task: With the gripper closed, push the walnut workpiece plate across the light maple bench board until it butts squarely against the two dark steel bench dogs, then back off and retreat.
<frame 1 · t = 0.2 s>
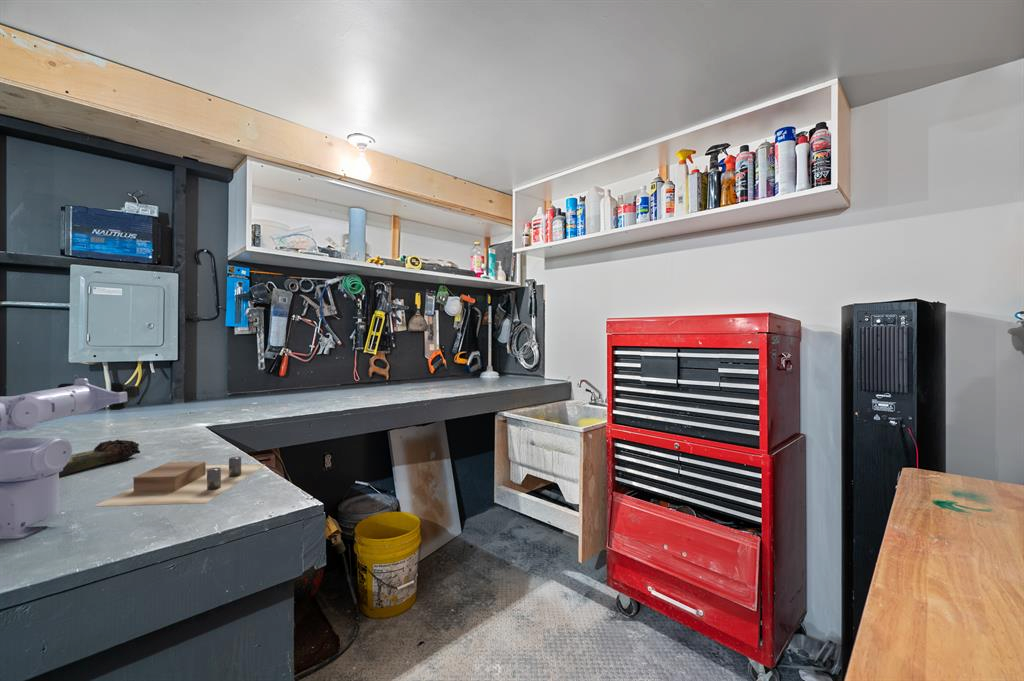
hand: (119, 391, 95), 21 cm above the workbench, tool horizontal, fingers open, 7 cm apart
walnut plate: (171, 482, 93), point 1 cm above the workbench, touching bench board
mossy wood log: (95, 467, 109), on the workbench
bench board: (191, 489, 93), on the workbench
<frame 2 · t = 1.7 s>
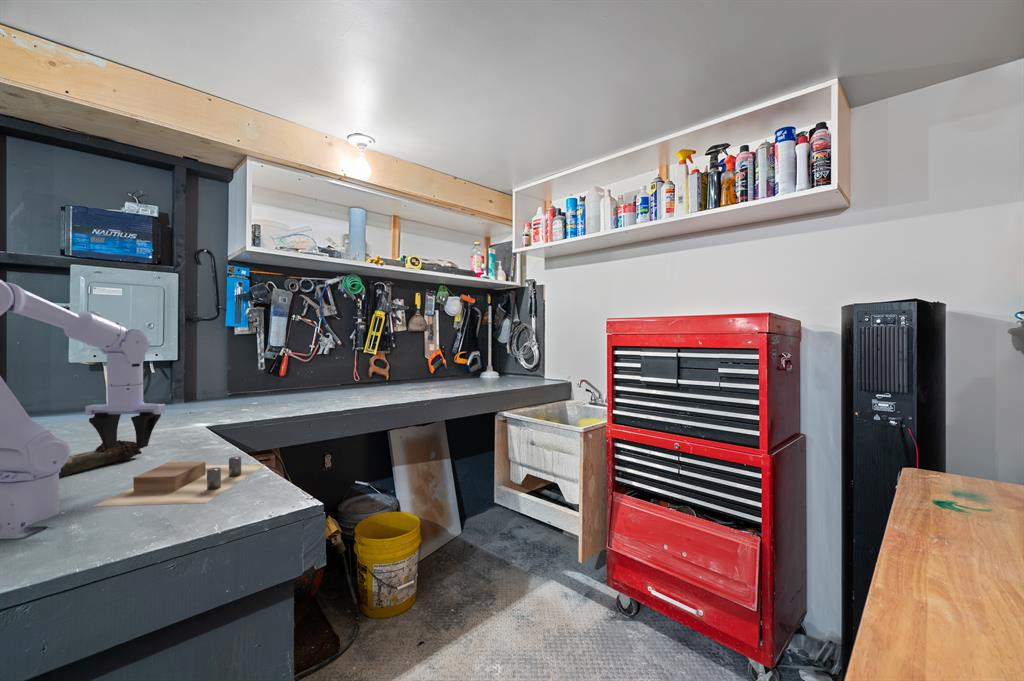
hand: (126, 447, 92), 9 cm above the workbench, tool pointing down, fingers open, 6 cm apart
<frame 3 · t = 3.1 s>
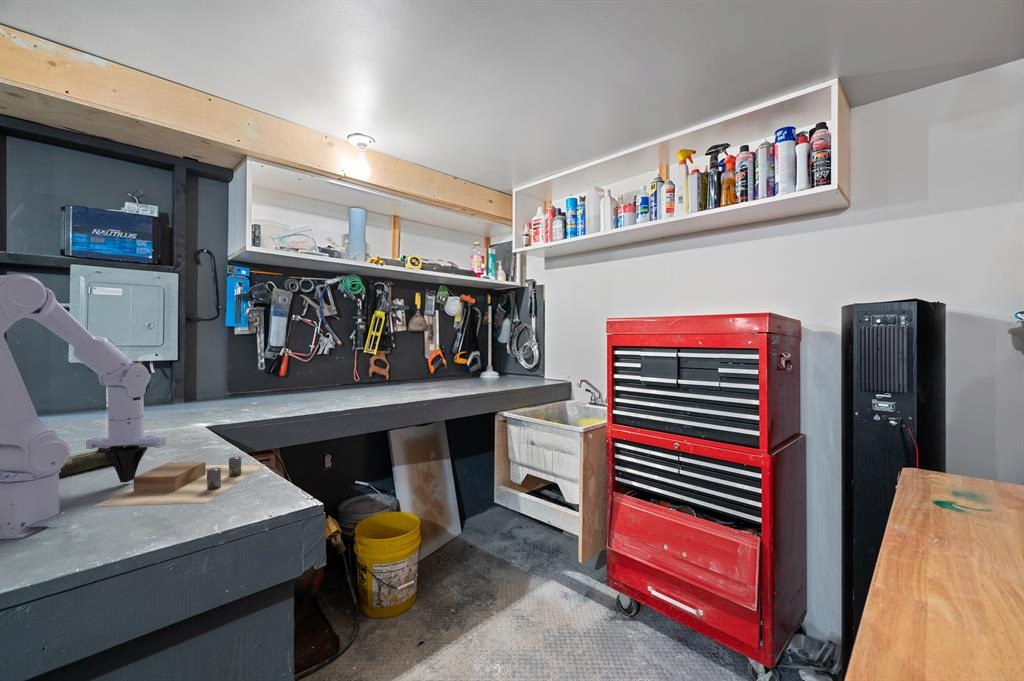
hand: (127, 480, 92), 2 cm above the workbench, tool pointing down, fingers closed
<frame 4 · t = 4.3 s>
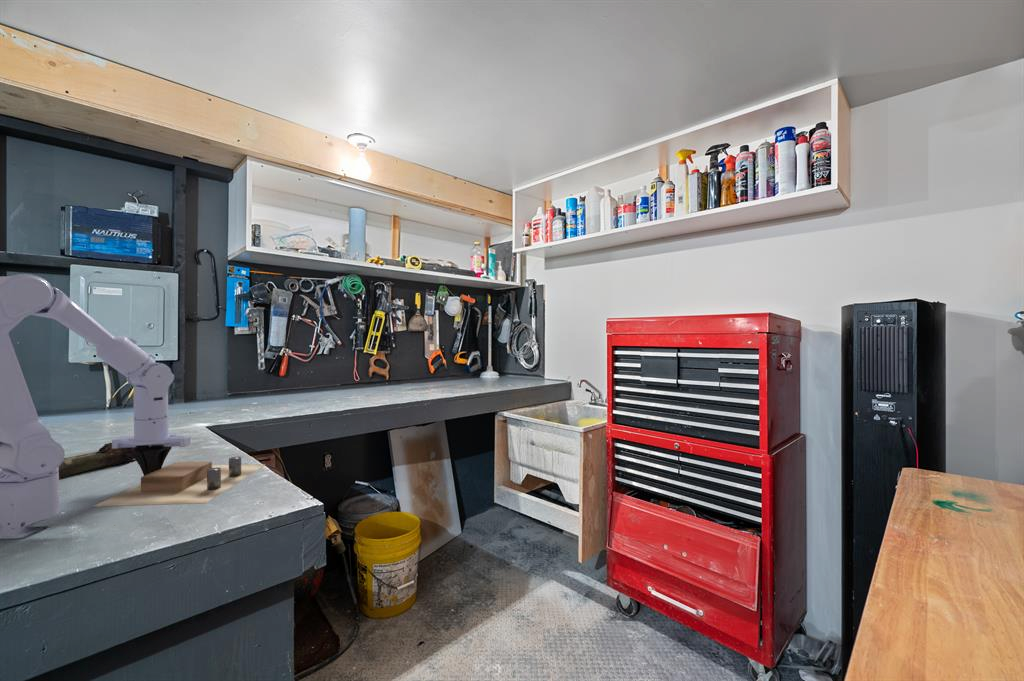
hand: (152, 480, 93), 2 cm above the workbench, tool pointing down, fingers closed
walnut plate: (178, 482, 93), point 1 cm above the workbench, touching bench board
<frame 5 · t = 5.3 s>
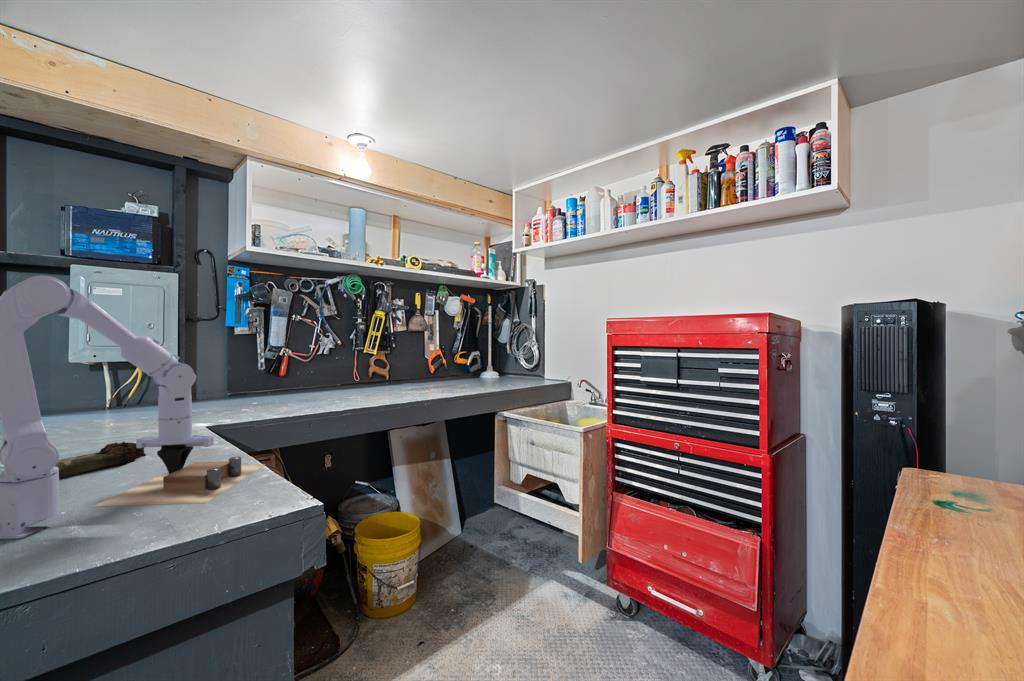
hand: (176, 479, 93), 2 cm above the workbench, tool pointing down, fingers closed
walnut plate: (199, 482, 93), point 2 cm above the workbench, touching bench board, gripper
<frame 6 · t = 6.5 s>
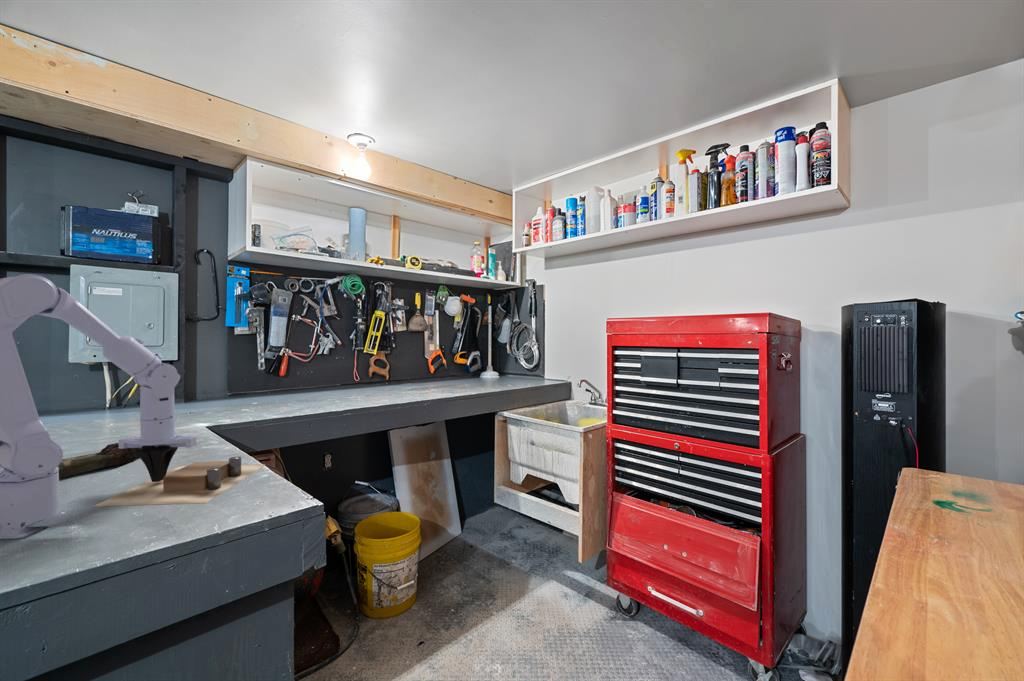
hand: (158, 480, 93), 2 cm above the workbench, tool pointing down, fingers closed
walnut plate: (199, 482, 93), point 1 cm above the workbench, touching bench board
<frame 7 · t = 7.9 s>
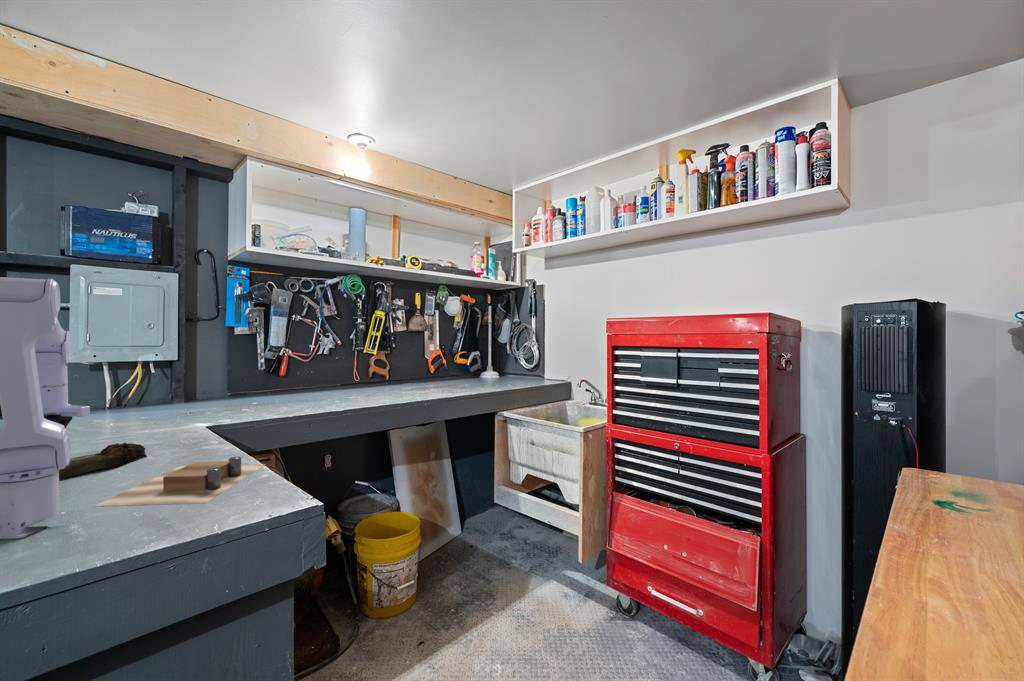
hand: (49, 451, 89), 9 cm above the workbench, tool pointing down, fingers closed
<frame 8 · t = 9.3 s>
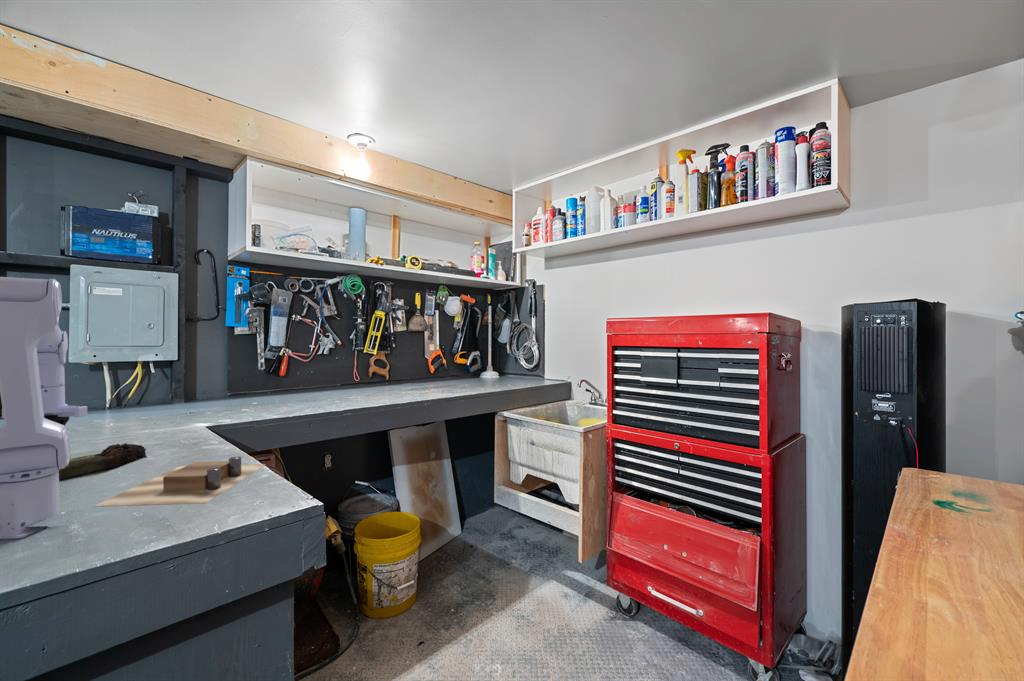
hand: (46, 451, 89), 9 cm above the workbench, tool pointing down, fingers closed
at the end: walnut plate 0.2 cm from the target spot on the bench board, point 1.5 cm above the bench board's base; walnut plate tilted 0°; walnut plate moved 5.8 cm from its start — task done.
